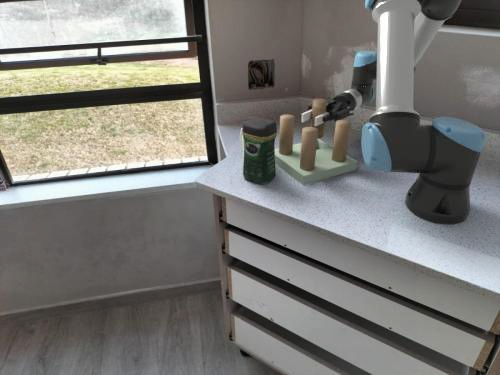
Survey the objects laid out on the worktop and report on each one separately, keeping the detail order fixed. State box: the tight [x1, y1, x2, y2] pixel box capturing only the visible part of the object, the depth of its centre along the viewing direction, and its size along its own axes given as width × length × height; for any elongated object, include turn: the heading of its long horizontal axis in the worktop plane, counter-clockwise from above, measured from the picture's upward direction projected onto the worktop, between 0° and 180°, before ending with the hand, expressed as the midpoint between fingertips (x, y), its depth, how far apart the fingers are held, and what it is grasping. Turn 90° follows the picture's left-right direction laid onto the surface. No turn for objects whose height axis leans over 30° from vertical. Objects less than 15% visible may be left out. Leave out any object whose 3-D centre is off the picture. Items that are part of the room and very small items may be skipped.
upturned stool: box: [275, 113, 358, 186], centre depth 115 cm, size 20×20×15 cm
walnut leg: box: [310, 97, 328, 139], centre depth 120 cm, size 4×4×12 cm
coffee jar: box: [242, 115, 278, 185], centre depth 106 cm, size 10×8×19 cm
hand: (309, 119), depth 116 cm, fingers closed on walnut leg, 4 cm apart
